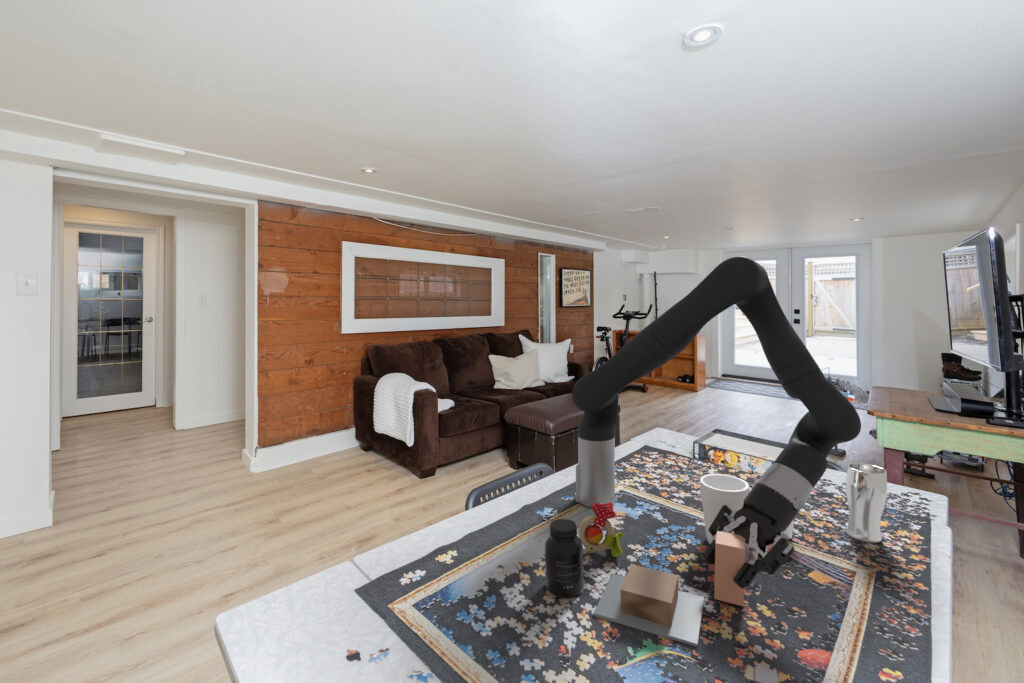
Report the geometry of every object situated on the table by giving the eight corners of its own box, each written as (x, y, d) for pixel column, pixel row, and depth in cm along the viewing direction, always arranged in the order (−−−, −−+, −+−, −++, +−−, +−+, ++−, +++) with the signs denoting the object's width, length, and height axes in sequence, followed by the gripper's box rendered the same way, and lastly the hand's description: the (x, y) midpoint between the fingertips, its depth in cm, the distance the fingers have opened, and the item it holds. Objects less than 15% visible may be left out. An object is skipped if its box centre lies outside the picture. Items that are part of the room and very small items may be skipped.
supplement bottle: (542, 577, 86) (541, 516, 85) (578, 574, 87) (577, 514, 86) (548, 601, 80) (547, 535, 79) (587, 598, 80) (586, 532, 79)
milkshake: (803, 542, 97) (805, 496, 96) (775, 540, 98) (776, 494, 97) (794, 531, 101) (796, 487, 100) (768, 529, 102) (769, 486, 101)
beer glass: (878, 531, 100) (882, 464, 99) (889, 546, 94) (892, 476, 93) (840, 525, 103) (843, 460, 102) (847, 540, 97) (851, 471, 96)
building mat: (593, 615, 76) (593, 612, 76) (612, 576, 86) (612, 573, 86) (697, 647, 68) (697, 643, 68) (704, 599, 79) (704, 596, 79)
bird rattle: (592, 571, 92) (634, 554, 91) (569, 522, 91) (611, 504, 90) (589, 554, 98) (628, 538, 97) (567, 508, 97) (607, 491, 96)
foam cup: (711, 526, 104) (712, 470, 103) (754, 541, 97) (756, 482, 96) (691, 541, 98) (691, 482, 97) (735, 558, 91) (736, 495, 90)
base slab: (620, 612, 76) (620, 589, 75) (631, 585, 83) (631, 564, 82) (671, 627, 72) (671, 603, 72) (678, 597, 79) (678, 575, 79)
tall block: (714, 598, 78) (715, 543, 77) (715, 583, 82) (717, 530, 81) (743, 606, 76) (745, 549, 75) (743, 590, 80) (745, 536, 79)
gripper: (734, 469, 86) (681, 540, 84) (804, 500, 73) (743, 586, 70) (756, 491, 89) (704, 561, 86) (827, 526, 75) (768, 611, 72)
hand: (722, 572), depth 78 cm, fingers closed on tall block, 6 cm apart
